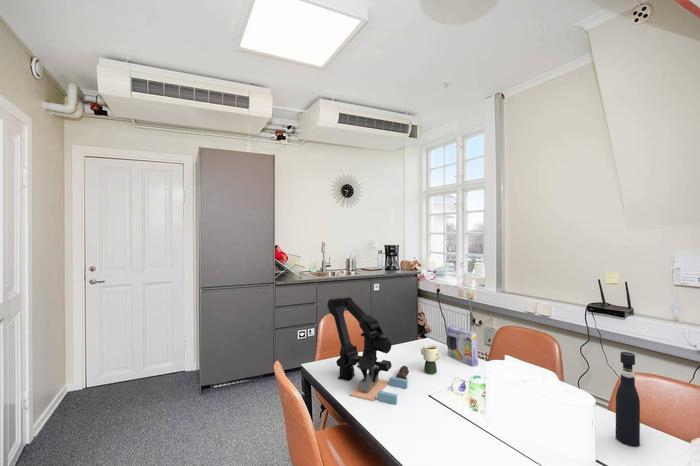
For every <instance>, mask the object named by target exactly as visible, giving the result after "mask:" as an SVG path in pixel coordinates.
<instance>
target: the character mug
mask: <svg viewBox="0 0 700 466" xmlns="http://www.w3.org/2000/svg"><path fill="white" fill-rule="evenodd" d="M420 355H422V356H423V360H424V361H425V362H424V367H423V371H424V372H425V373H426V374H436V373H437V372H438V370H437V363H436V361H438V360H441V352H439V349H438V346H436V345H434V344H426V345H423V346H422V348H421V349H420Z"/></svg>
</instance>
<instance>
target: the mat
mask: <svg viewBox="0 0 700 466" xmlns="http://www.w3.org/2000/svg"><path fill="white" fill-rule="evenodd" d="M388 384H390V380H385V379H380V378H378V382H377V383H376V384H375V385H374V387H373V388H372V389H371V390H370V391H369V392H366V391H361V390H360V384H358V385H357V386H356V387H355V389H354V390H352V391H351V393H349V396H350V397H353V398H357V399H362V400H367V401H370V402H374V401H375V400H376V399H377V398H378V392H379V391H383V390H384V389H385V388H386V387H387V386H388Z"/></svg>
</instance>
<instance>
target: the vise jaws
mask: <svg viewBox="0 0 700 466" xmlns="http://www.w3.org/2000/svg"><path fill="white" fill-rule="evenodd" d="M408 382H409V381H408V379H407V380H406V379H401V378H396V376H390V377H389V386H390V387H394V388H399V389H405V390H407V389H408ZM377 401H378V402H382V403H386V404H390V405H394V406H396V405H397V404H398V394H396V393H392V392H388V391H383V390H382V391H379V392H378V396H377Z"/></svg>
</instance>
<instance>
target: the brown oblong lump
mask: <svg viewBox="0 0 700 466" xmlns="http://www.w3.org/2000/svg"><path fill="white" fill-rule="evenodd" d="M409 372H410V371H409V367H408V366H406V365H402V366H401V367H400V368H399V370H398V372H397V374H396V375H395V377H396V378H401V379H406V380H408V377H407V376H408V374H409Z"/></svg>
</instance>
